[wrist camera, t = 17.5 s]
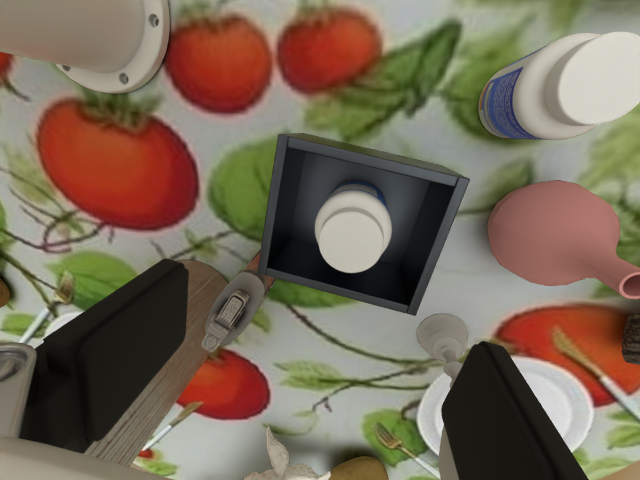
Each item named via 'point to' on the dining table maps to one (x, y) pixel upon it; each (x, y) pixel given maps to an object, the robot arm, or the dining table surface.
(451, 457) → the chalice
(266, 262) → the tub
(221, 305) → the lighter
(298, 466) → the angel figurine
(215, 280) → the planter
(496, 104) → the pill bottle
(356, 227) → the pill bottle
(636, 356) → the brown tree bark stump
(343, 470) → the potato
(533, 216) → the pink vase
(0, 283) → the ginger root
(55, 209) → the dining table surface
